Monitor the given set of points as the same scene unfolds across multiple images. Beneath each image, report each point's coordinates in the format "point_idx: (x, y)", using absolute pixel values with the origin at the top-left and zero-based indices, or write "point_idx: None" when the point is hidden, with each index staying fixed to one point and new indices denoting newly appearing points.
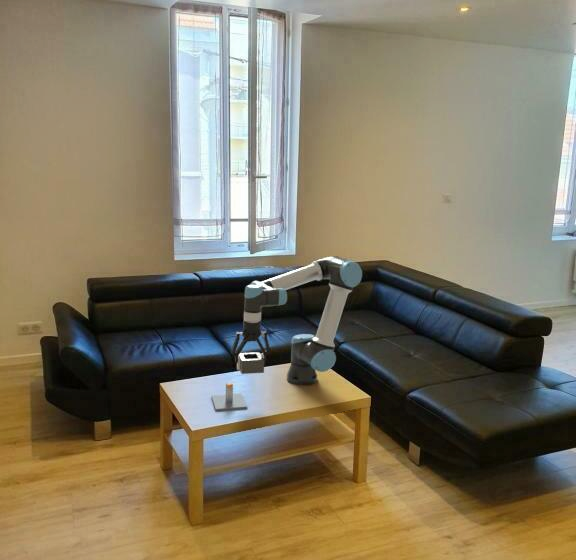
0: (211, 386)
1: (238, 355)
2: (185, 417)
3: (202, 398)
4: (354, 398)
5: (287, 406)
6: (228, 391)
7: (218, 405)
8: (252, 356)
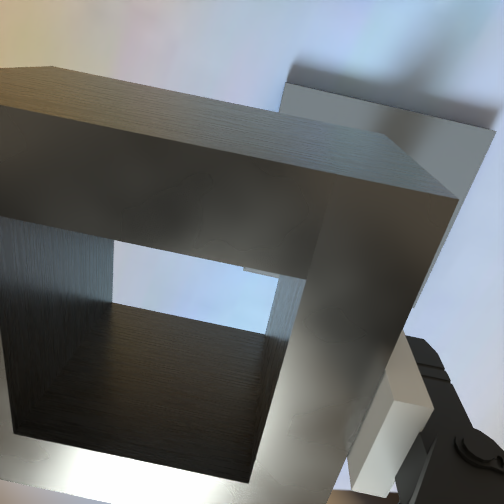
0: None
1: (404, 445)
2: None
3: (454, 314)
4: None
5: (15, 7)
6: None
7: (450, 173)
8: (94, 408)
